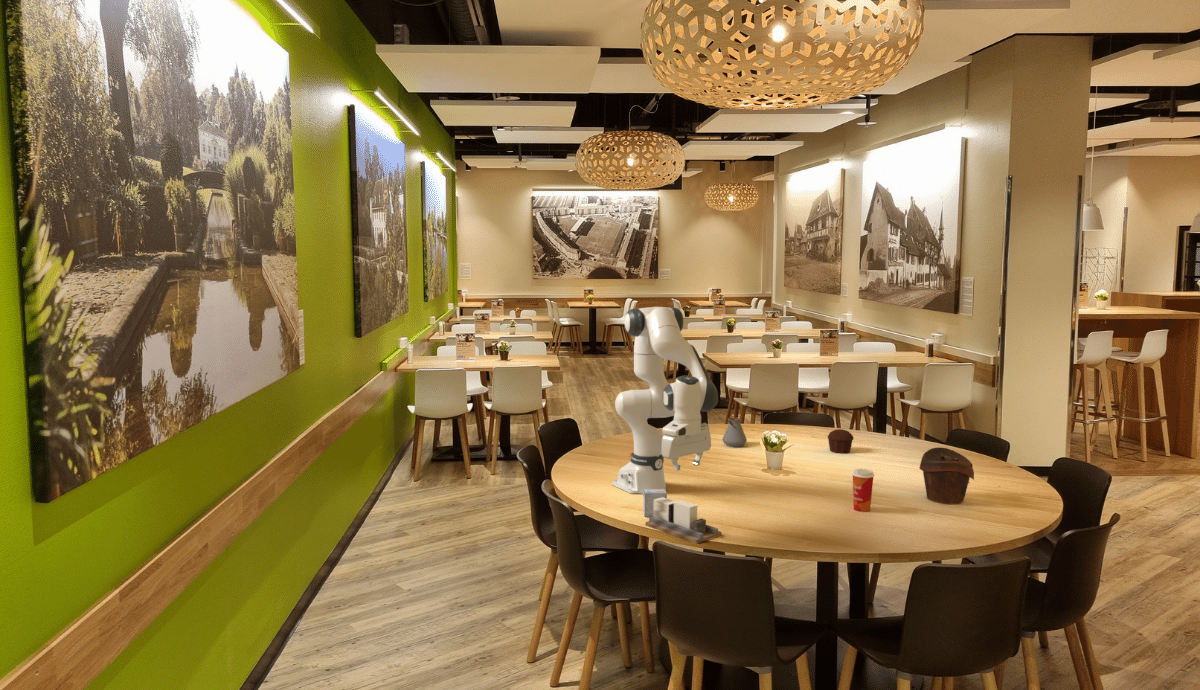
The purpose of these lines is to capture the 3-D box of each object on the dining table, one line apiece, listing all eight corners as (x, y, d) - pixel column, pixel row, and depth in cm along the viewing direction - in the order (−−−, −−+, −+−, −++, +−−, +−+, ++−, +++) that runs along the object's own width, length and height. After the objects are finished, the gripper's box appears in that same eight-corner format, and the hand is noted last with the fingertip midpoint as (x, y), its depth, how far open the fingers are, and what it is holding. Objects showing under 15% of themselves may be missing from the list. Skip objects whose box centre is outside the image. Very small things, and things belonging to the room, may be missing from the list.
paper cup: (847, 505, 293) (849, 468, 292) (869, 506, 293) (870, 468, 291) (853, 512, 286) (855, 474, 284) (876, 513, 285) (877, 474, 284)
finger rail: (645, 525, 273) (645, 502, 272) (670, 517, 280) (670, 495, 279) (696, 543, 255) (696, 518, 254) (721, 534, 263) (721, 511, 262)
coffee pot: (724, 441, 393) (725, 411, 391) (748, 443, 389) (749, 412, 387) (716, 452, 373) (716, 420, 371) (741, 454, 369) (741, 421, 367)
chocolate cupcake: (954, 510, 288) (957, 461, 286) (906, 496, 304) (909, 449, 303) (984, 503, 297) (987, 455, 295) (936, 490, 314) (939, 444, 312)
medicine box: (665, 512, 286) (665, 489, 285) (667, 517, 281) (667, 492, 280) (643, 513, 285) (643, 489, 284) (644, 517, 281) (644, 492, 280)
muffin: (823, 452, 373) (824, 430, 372) (831, 447, 382) (832, 426, 381) (849, 455, 366) (849, 433, 365) (856, 450, 375) (857, 429, 374)
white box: (689, 531, 263) (689, 507, 262) (672, 525, 269) (672, 502, 268) (696, 529, 265) (697, 505, 265) (679, 523, 271) (680, 500, 270)
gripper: (701, 420, 273) (701, 460, 275) (658, 429, 260) (658, 471, 261) (715, 423, 268) (715, 464, 270) (672, 432, 255) (672, 475, 257)
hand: (686, 467), depth 265 cm, fingers open, 8 cm apart
